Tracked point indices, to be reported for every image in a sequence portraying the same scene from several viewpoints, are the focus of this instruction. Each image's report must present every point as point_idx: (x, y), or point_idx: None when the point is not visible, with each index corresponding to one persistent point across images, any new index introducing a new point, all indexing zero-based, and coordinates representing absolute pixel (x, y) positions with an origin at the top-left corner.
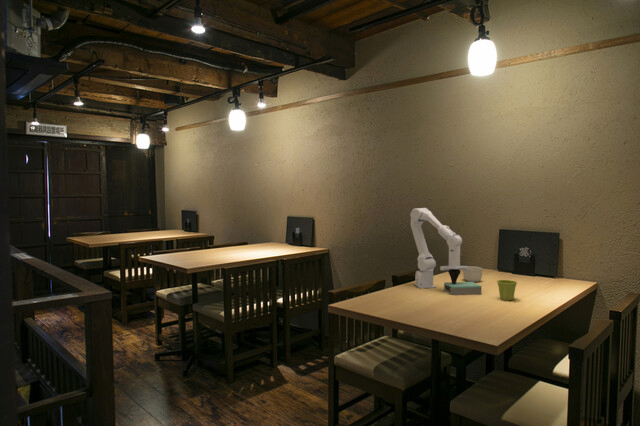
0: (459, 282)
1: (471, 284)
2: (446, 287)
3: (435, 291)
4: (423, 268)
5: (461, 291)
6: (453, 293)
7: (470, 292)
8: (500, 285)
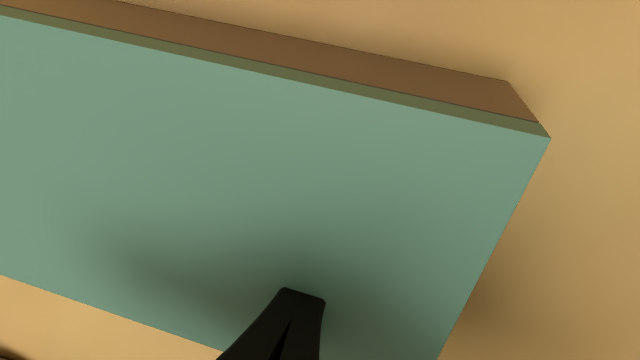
0: (177, 322)
1: (38, 155)
2: None
3: (562, 325)
4: None
5: (318, 57)
6: (475, 82)
7: (169, 18)
8: None
